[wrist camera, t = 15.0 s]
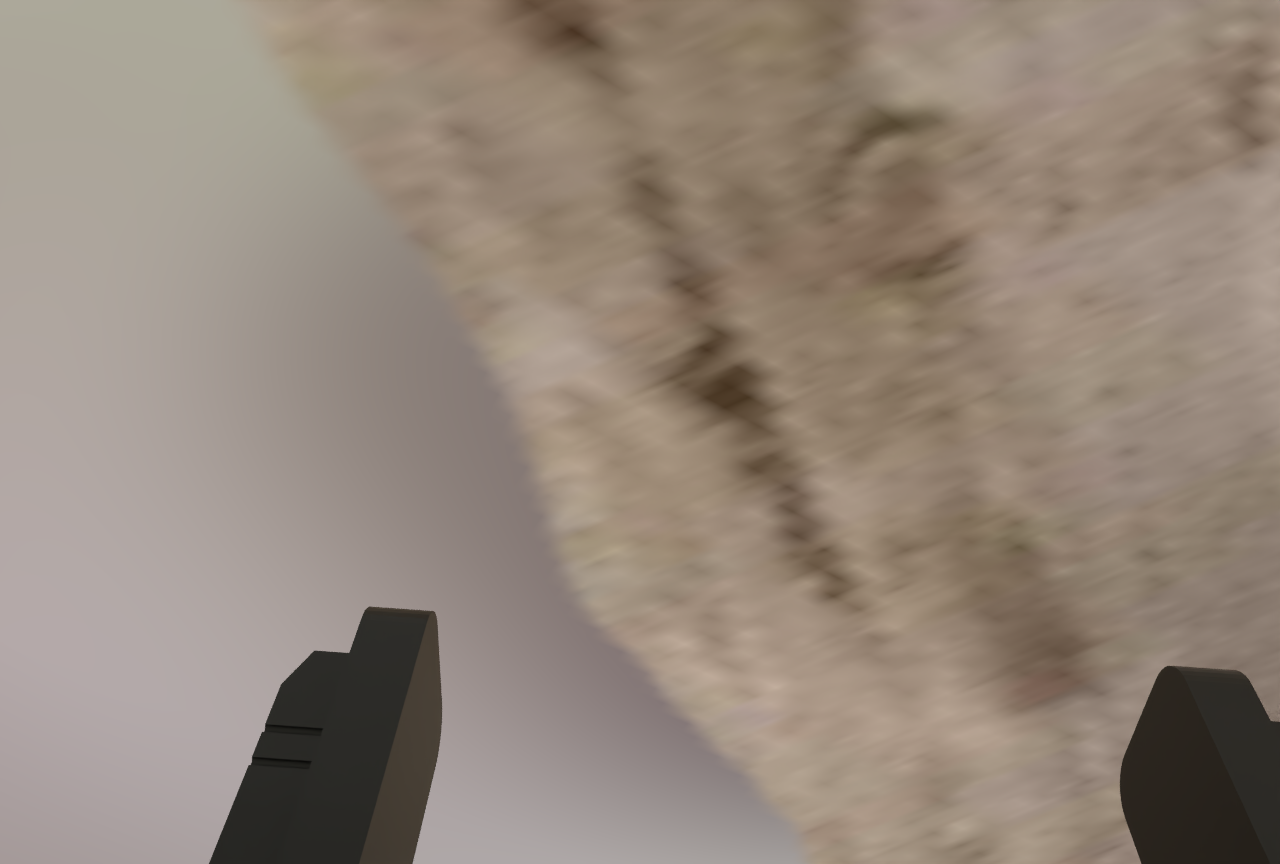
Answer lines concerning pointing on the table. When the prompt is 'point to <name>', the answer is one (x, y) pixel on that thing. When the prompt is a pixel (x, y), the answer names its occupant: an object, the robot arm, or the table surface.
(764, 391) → the table surface
